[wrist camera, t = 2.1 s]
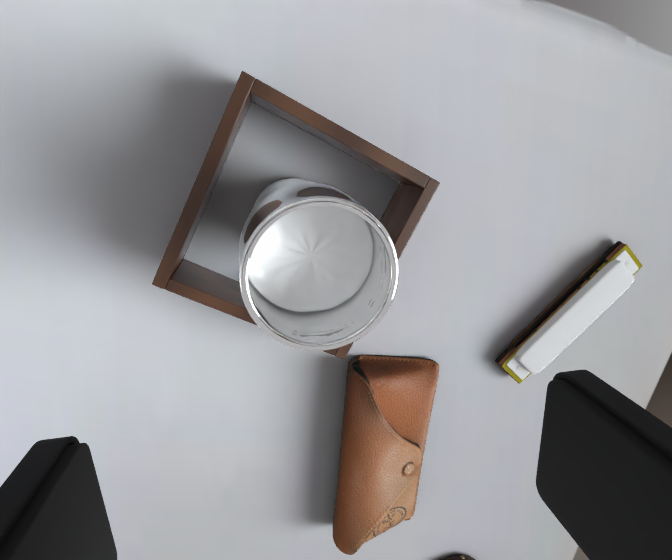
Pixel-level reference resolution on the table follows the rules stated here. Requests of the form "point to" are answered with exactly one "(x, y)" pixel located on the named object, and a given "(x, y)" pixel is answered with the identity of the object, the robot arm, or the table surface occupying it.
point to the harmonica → (570, 313)
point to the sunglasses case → (381, 445)
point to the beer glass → (315, 266)
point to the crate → (173, 267)
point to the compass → (460, 558)
